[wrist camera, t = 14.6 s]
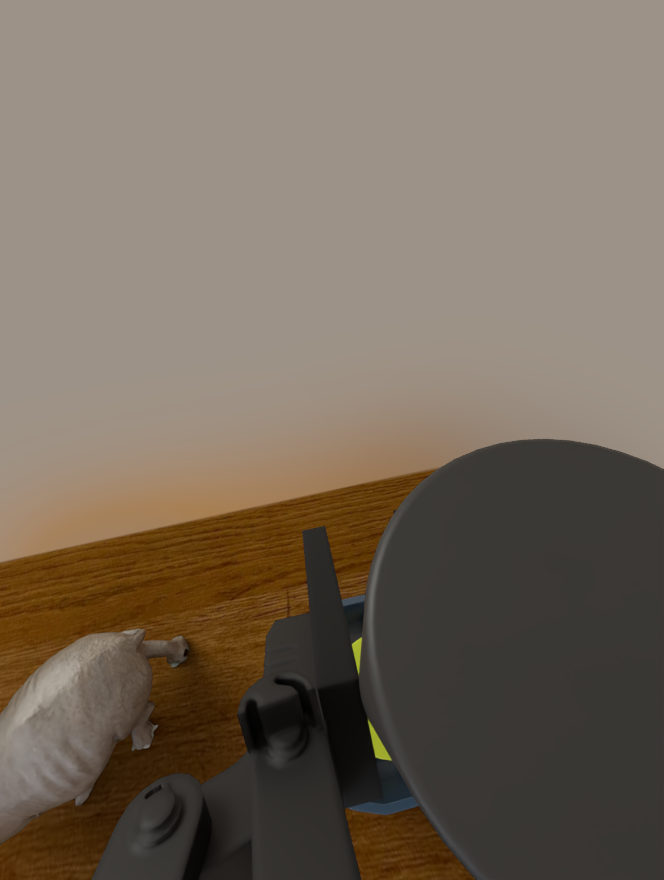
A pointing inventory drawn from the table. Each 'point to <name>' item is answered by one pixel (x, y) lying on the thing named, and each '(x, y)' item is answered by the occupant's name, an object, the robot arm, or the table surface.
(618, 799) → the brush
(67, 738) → the rhinoceros figurine
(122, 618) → the table surface
